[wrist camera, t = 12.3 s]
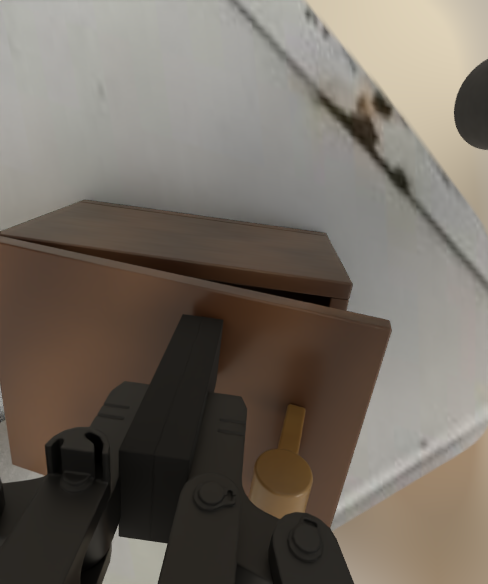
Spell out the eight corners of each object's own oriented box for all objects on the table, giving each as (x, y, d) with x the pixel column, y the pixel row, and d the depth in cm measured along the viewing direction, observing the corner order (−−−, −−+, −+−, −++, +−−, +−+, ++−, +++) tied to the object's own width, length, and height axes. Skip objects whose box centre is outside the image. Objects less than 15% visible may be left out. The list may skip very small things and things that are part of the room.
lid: (390, 319, 14) (410, 411, 9) (318, 553, 19) (308, 689, 14) (-7, 233, 17) (-143, 269, 12) (22, 454, 22) (-67, 539, 17)
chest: (326, 232, 25) (353, 283, 17) (292, 393, 30) (300, 493, 21) (83, 199, 25) (-7, 233, 17) (89, 364, 30) (21, 453, 22)
